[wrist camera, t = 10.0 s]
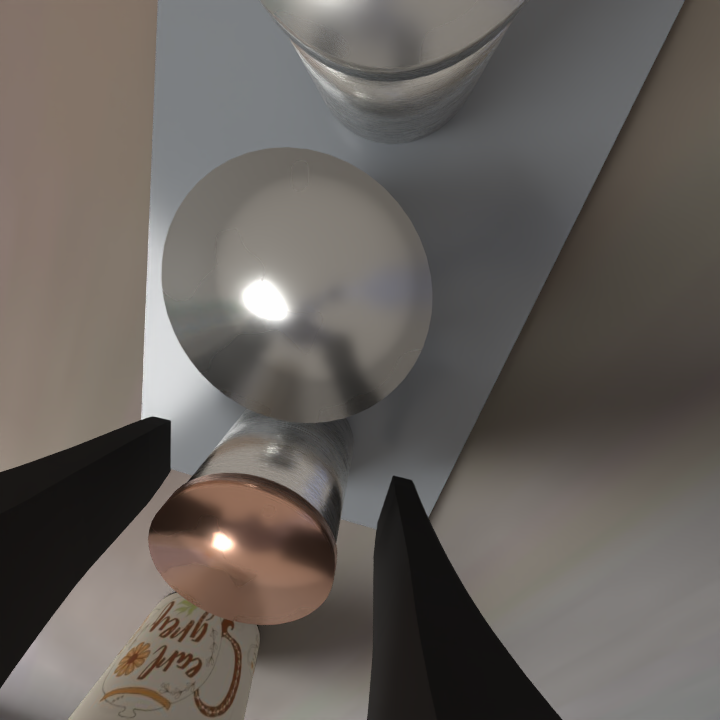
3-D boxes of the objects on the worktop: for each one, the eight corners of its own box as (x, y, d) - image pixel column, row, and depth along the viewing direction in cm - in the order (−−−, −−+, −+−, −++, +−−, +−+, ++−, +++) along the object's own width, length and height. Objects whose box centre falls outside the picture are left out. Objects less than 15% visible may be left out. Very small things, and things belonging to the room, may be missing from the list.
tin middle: (437, 215, 10) (480, 205, 5) (385, 357, 11) (380, 451, 7) (282, 163, 10) (173, 102, 5) (253, 315, 11) (152, 381, 7)
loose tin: (381, 435, 13) (373, 562, 8) (311, 506, 14) (269, 647, 9) (277, 361, 12) (200, 451, 7) (217, 444, 13) (120, 564, 9)
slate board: (672, -1, 8) (694, -18, 7) (415, 529, 15) (416, 541, 14) (181, -163, 8) (165, -193, 7) (149, 450, 15) (139, 459, 14)
